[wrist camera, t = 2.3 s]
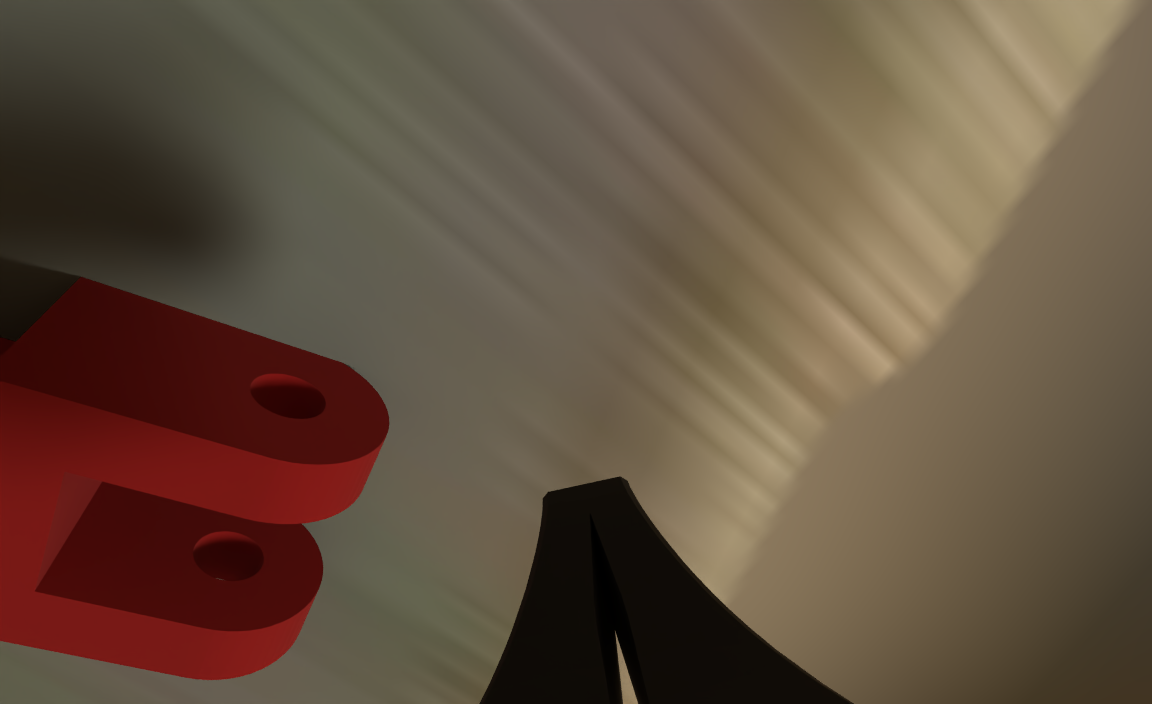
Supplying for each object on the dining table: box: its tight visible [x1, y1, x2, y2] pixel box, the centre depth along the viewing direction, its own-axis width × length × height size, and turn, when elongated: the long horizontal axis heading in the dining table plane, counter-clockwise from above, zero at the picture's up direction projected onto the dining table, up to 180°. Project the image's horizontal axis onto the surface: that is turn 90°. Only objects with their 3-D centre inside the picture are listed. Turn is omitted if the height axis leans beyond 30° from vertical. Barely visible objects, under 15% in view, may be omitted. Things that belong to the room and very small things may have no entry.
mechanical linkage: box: [0, 277, 389, 680], centre depth 19 cm, size 16×7×5 cm, turn 64°
